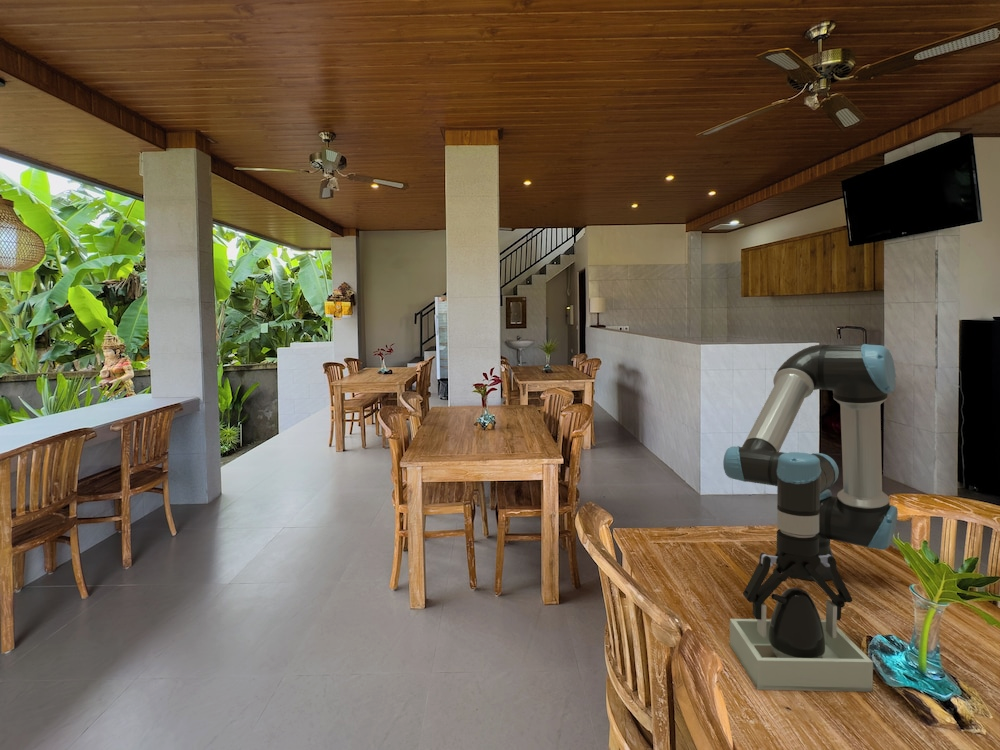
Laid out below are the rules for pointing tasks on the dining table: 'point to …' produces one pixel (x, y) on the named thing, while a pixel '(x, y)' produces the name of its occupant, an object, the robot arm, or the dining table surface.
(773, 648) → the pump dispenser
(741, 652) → the tray
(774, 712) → the dining table surface
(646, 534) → the dining table surface
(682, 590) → the dining table surface
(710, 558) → the dining table surface
